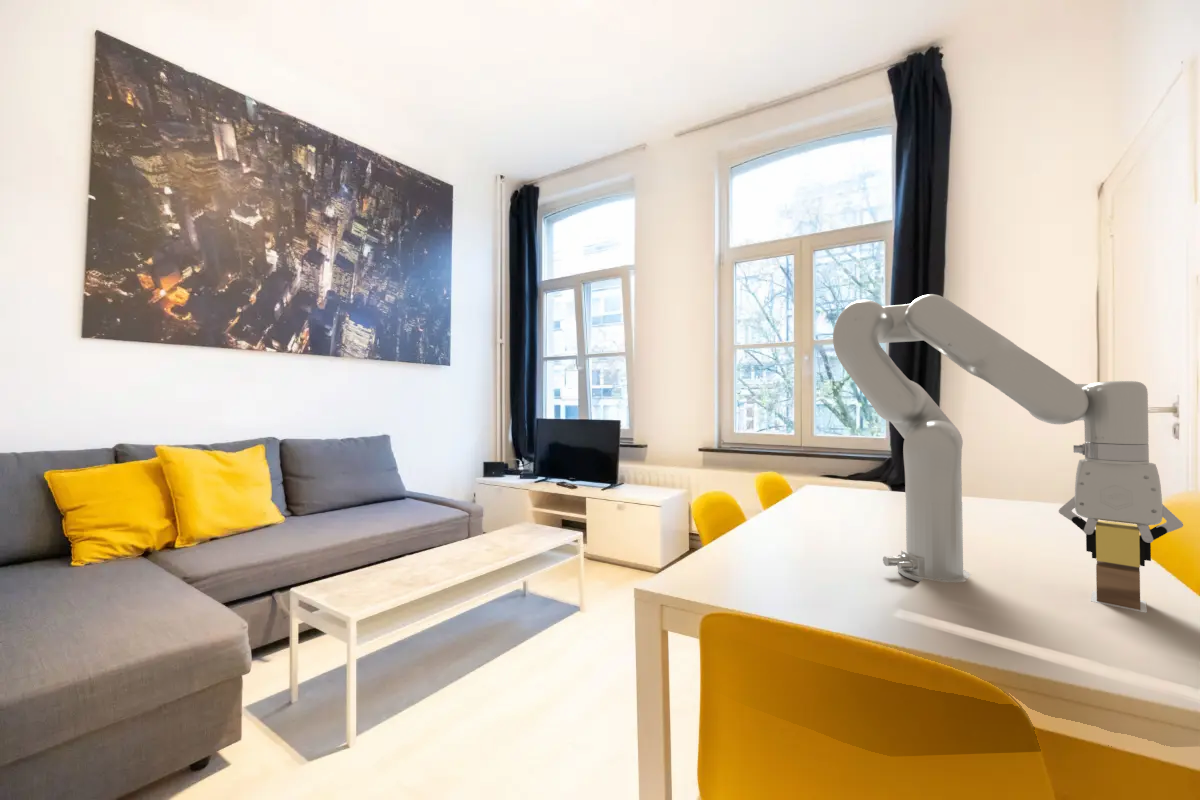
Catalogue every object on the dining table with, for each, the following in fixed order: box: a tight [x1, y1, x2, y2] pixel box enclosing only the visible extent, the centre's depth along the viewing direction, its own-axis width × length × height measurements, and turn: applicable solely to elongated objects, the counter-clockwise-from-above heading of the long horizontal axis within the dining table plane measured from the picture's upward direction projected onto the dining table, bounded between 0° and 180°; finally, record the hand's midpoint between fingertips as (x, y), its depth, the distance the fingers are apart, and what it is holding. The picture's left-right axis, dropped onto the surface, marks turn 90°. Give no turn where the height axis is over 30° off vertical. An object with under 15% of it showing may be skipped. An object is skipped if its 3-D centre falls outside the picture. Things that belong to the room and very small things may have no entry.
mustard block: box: [1095, 520, 1141, 568], centre depth 83 cm, size 5×5×6 cm
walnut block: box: [1095, 561, 1141, 610], centre depth 83 cm, size 5×5×6 cm
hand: (1117, 559), depth 83 cm, fingers closed on mustard block, 4 cm apart
